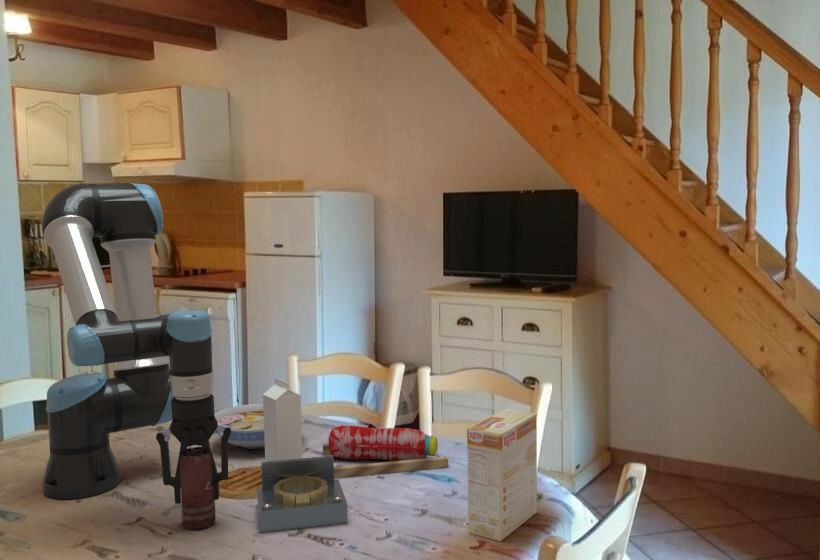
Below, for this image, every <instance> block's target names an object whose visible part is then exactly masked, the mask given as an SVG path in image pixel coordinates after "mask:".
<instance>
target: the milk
mask: <svg viewBox="0 0 820 560" xmlns="http://www.w3.org/2000/svg"><path fill="white" fill-rule="evenodd" d="M262 404H263V412H264V440H265V448H264V459H265V461H264V462H267V461H278V460H289V459H301V458H304V456H303V454H304V453H303V432H302V431H303V425H302V418H301V410H302V396H301V394H300V393H298V392H295V391H293V390H291V389H289V383H288V382H287V381H285V380H283V379H280V378H277V377H275V378H274V384H273V385H272V386H271V387H270V388H268V389H267V390H266V391H265V392H264V393H263V394H262Z"/></svg>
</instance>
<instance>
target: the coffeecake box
mask: <svg viewBox="0 0 820 560" xmlns="http://www.w3.org/2000/svg"><path fill="white" fill-rule="evenodd" d="M537 415H538V414H537V413H535V412H530V411H523V410H519V409H515V408H508V407H507V408H503V409H501V410H500V411H498V412H496V413H494V414H492V415H490V416H488V417H486V418H484V419H483V420H481V421H479V422H476V423H475V424H472V425H470V426H469V427H466V436H467V437H466V438H467V439H466V441H467V443H466V444H467V446H466V447H467V448H466V449H467V451H466V452H467V516H468V517H467V520H468V521H467V522H468V523H467V524H468V525H467V529H468V530H467V531H468V533H469V534H471V535H475V536H477V537H478V536H479V537H484V538H487V539H489V540H493V541H497V542H502V541H504V539H506V538H507V537H508V536H509V535H511V534H512V533H513V532H514V531H515V530H517V529H518V528H519V527H520V526H522V525H523V524H525V523H526V522H527V521H528V520H530V518H532V517H533V516H534V515H536V514H537V513H538V508H537V506H538V505H537V503H538V502H537V499H538V498H537V497H538V495H537V494H538V492H537V491H538V490H537V489H538V488H537V487H538V481H537V479H538V477H537V476H538V473H537V471H538V466H537V465H538V464H537V463H538V461H537V460H538V458H537V457H538V456H537V455H538V454H537V452H538V451H537V447H538V446H537V444H538V443H537V436H538V435H537V432H538V429H537V423H538V422H537V417H538V416H537Z"/></svg>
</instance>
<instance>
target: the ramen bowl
mask: <svg viewBox="0 0 820 560" xmlns="http://www.w3.org/2000/svg"><path fill="white" fill-rule="evenodd" d="M214 413H215V418H216V420H217V422H218V423H219V424H222V425H225V426H226V425H230V426H231V433H230V436H229V439H228V444H230V445H234V446H239V447H243V448H245V449H247V450H261V449H265V440H264V412H263V403H251V404H250V403H249V404H243V405H237V406H231V407H228V408H226V409H225V408H224V409H221V410H219V411H217V412H214ZM303 415H304V414H303V410H302V409H301V419H303ZM215 433H216V434H217V435H218V433H219V432H218V430H215Z"/></svg>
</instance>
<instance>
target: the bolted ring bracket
mask: <svg viewBox="0 0 820 560" xmlns="http://www.w3.org/2000/svg"><path fill="white" fill-rule="evenodd" d="M334 457H335V456H333V455H326V456H325V455H322V456H314V457H303V458H301V459H289V460H278V461H267V462H265V461H261V462H260V465H261V484H262V485H261V486H257V487H256V491H257V492H256V495H257V497H256V498H257V516H258V527H259V528H258V529H259V530H258V531H259V534H262V533H271V532H272V533H273V532H280V531H289V530H299V529H305V528H307V529H308V528H315V527H324V526H325V527H327V526H334V525H335V526H336V525H343V524H348V502H347V498H346V497H345V493H344V491H343V489H342V485H341V482H340V479H339V478H336V479H335V478H334V467H335V465H334V462H335V461H334Z"/></svg>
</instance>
